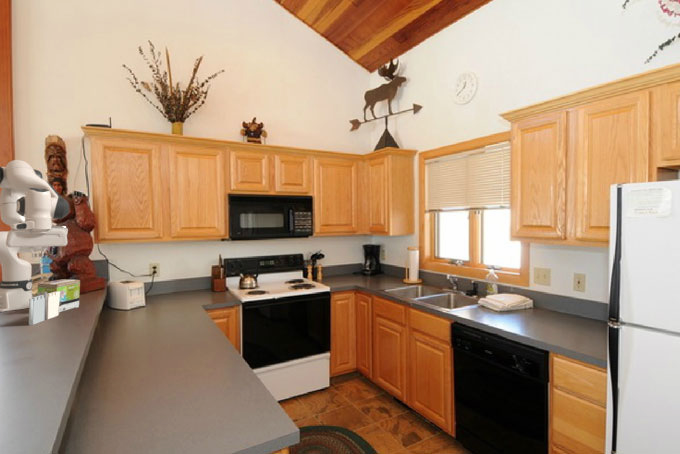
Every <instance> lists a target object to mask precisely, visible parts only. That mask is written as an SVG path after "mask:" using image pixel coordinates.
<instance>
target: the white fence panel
mask: <svg viewBox="0 0 680 454" xmlns="http://www.w3.org/2000/svg"><path fill="white" fill-rule="evenodd" d="M59 296H60V292H59V291H58V292H53V293H48V294H47V292H44V298H45V316H44V321H47V320H49V319H53V318H56V317H58V316H60V312H59Z"/></svg>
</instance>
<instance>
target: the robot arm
mask: <svg viewBox="0 0 680 454" xmlns="http://www.w3.org/2000/svg"><path fill="white" fill-rule="evenodd" d="M0 188H1V190H0V220H1V222H3V223H4V224H5V225H7V226H9V227H10V230H9V231H7V230H5V231H1V230H0V266H1V274H2V275H1V276H2V277H1V279H2V280H1V281H0V312H9V311H15V310H17V311H18V310H23V309H24V310H25V309H29V299H32V297H33V291H32V288H33V279H32V271H33V270H32V267H33V266H32V264H31V263H30V262H29V261H27V260H25V259H22V258H19V256H18V254H19V253H20V254H21V253H22V254H23V253H31V258H44V256H45V255H44V254H45V252H47V250H48V247H66V246H67V245H68V233H69V229H68V227H67V226H65V225H54V224H52V219H56V220H62V219H64V218H66V217H67V216H68V215H69V213H70V204H69V202H68V200H67V199H65V198H64V197H63V196H61V194H59V192H58V191H57V190H56V188H55V187H54V186H53V185H52V184H51V183H50V182H48V181H47V180H45V179H44V175H43V173H42V171H40V170H37V169H35V168H33V167H32V166H31V165H30V164H29V163H28V162H26V161H24V160H21V159H14V160H13V159H12V160H11V161H9V162H8V163H7V164H6V166H0ZM37 252H38V253H37Z"/></svg>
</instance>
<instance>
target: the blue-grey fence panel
mask: <svg viewBox="0 0 680 454" xmlns="http://www.w3.org/2000/svg"><path fill="white" fill-rule="evenodd" d="M44 316H45V298H44V295H40V296H37V295H36V296H32V299H29V308H28V326H32V325H36V324H38V323H41V322H44V321H45V320H44Z"/></svg>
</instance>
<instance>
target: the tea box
mask: <svg viewBox="0 0 680 454" xmlns="http://www.w3.org/2000/svg"><path fill="white" fill-rule="evenodd" d="M80 288H81V280H80V279H66V278H65V279H57V280H50V281H44V282H39V283H37V291H36V293H37V294H36V296H40V295H44V292H47V294H48V293H53V292H58V291H59V292H60V296H59V313H60V312H65V311H68V310H71V309H75V308H79V306H80V290H81V289H80Z"/></svg>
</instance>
